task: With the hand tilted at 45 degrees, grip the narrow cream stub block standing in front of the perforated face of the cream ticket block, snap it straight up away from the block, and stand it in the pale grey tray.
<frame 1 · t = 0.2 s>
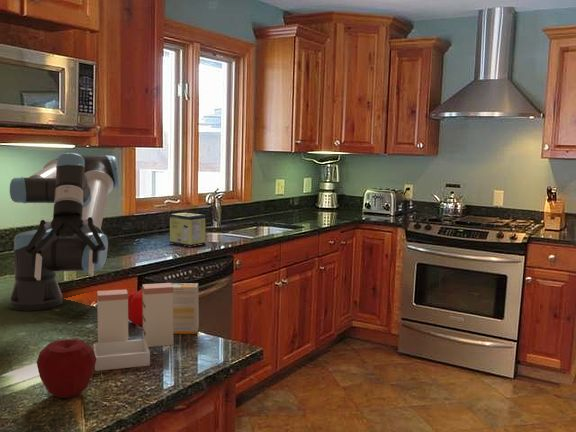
hand: (64, 276, 152), 15 cm above the table, tool tilted 35°, fingers open, 13 cm apart
tomato: (147, 324, 163), on the table
stub: (113, 347, 144), on the table
tray: (121, 360, 135), on the table
supplement box: (182, 332, 157), on the table
ticket block: (157, 343, 148), on the table
protein box: (187, 245, 293), on the table
apple: (67, 396, 116), on the table
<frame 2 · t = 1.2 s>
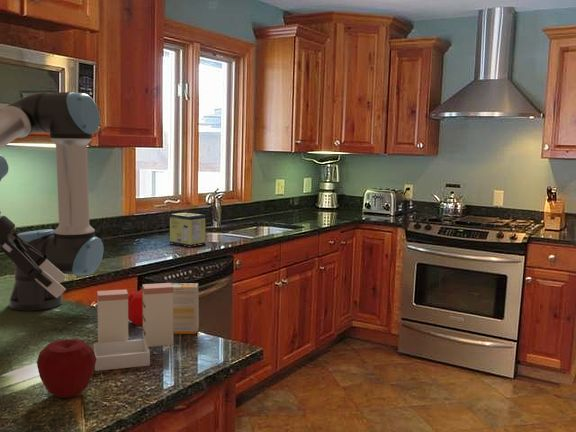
hand: (62, 287, 138), 16 cm above the table, tool tilted 45°, fingers open, 13 cm apart
nothing on the table moved.
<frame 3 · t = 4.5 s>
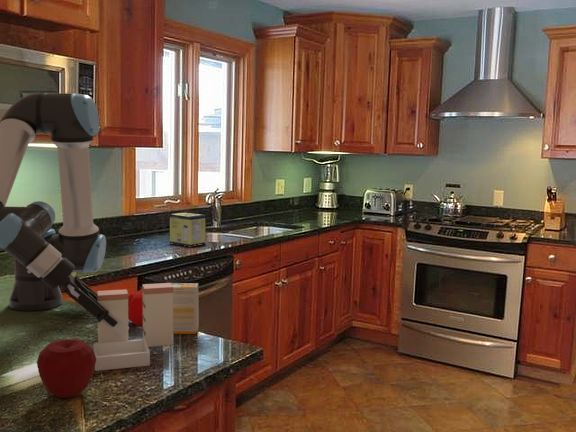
hand: (124, 328, 144), 4 cm above the table, tool tilted 45°, fingers closed on stub, 4 cm apart
stub: (113, 347, 144), on the table, touching gripper
everything else where it was.
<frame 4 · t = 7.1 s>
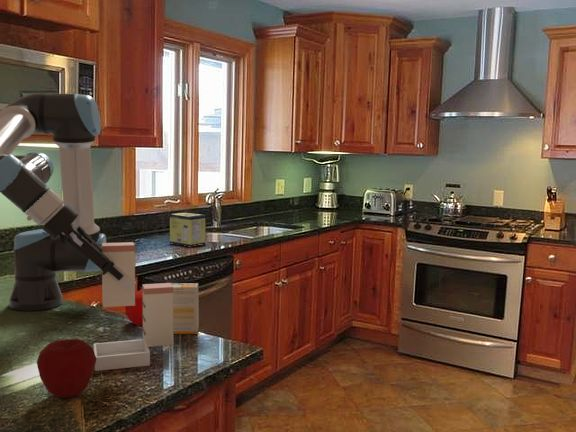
hand: (130, 284, 134), 18 cm above the table, tool tilted 45°, fingers closed on stub, 4 cm apart
stub: (118, 303, 134), point 14 cm above the table, touching gripper
everything else where it was.
when the fingers open (6 cm above the table, at t = 9.6 s): stub stays where it is, resting on tray.
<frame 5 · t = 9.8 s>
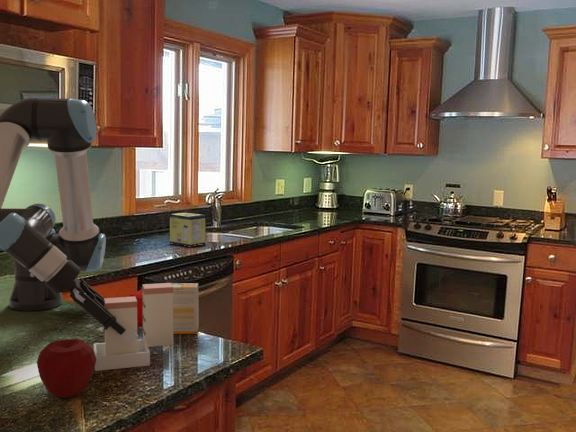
hand: (132, 335, 135), 6 cm above the table, tool tilted 45°, fingers open, 7 cm apart
stub: (121, 358, 135), point 1 cm above the table, touching tray
everything else where it was.
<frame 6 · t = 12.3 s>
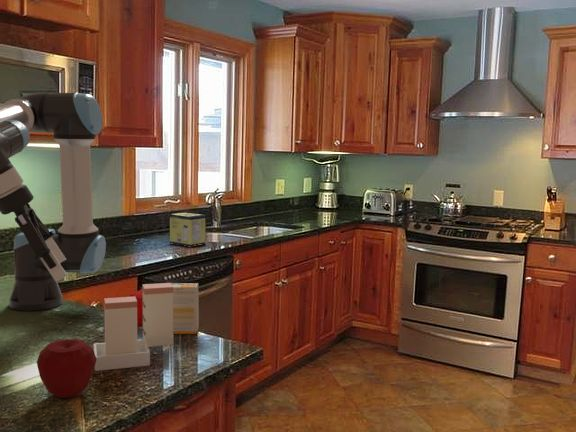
hand: (61, 270, 135), 21 cm above the table, tool tilted 30°, fingers open, 13 cm apart
nothing on the table moved.
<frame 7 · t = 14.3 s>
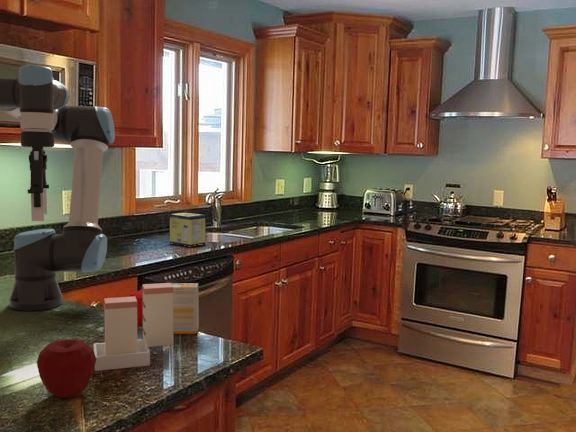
hand: (39, 217, 143), 32 cm above the table, tool pointing down, fingers open, 13 cm apart
nothing on the table moved.
at the end: stub inside the target area on the tray (0.0 cm from its centre), point 0.6 cm above the tray's base; stub tilted 0°; stub touching tray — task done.
